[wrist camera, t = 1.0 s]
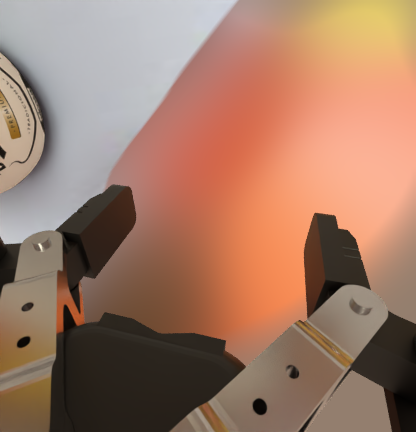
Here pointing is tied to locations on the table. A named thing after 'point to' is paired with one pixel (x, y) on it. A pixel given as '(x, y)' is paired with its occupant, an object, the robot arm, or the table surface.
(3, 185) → the milk container
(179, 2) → the table surface
